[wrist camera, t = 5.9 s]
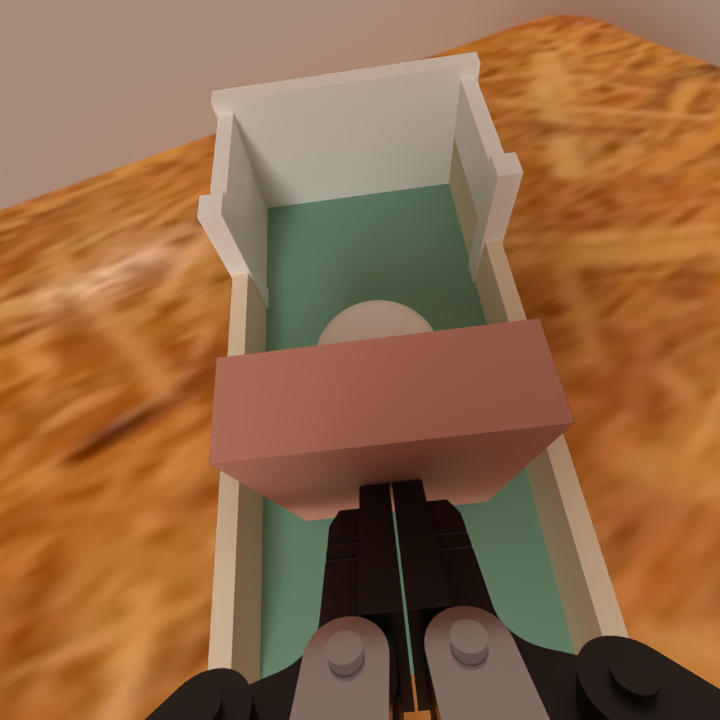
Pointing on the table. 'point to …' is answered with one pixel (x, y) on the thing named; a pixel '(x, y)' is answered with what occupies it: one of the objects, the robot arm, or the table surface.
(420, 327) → the ball
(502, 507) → the pitch
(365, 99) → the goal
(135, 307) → the table surface
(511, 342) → the block
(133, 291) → the table surface
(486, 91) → the table surface
